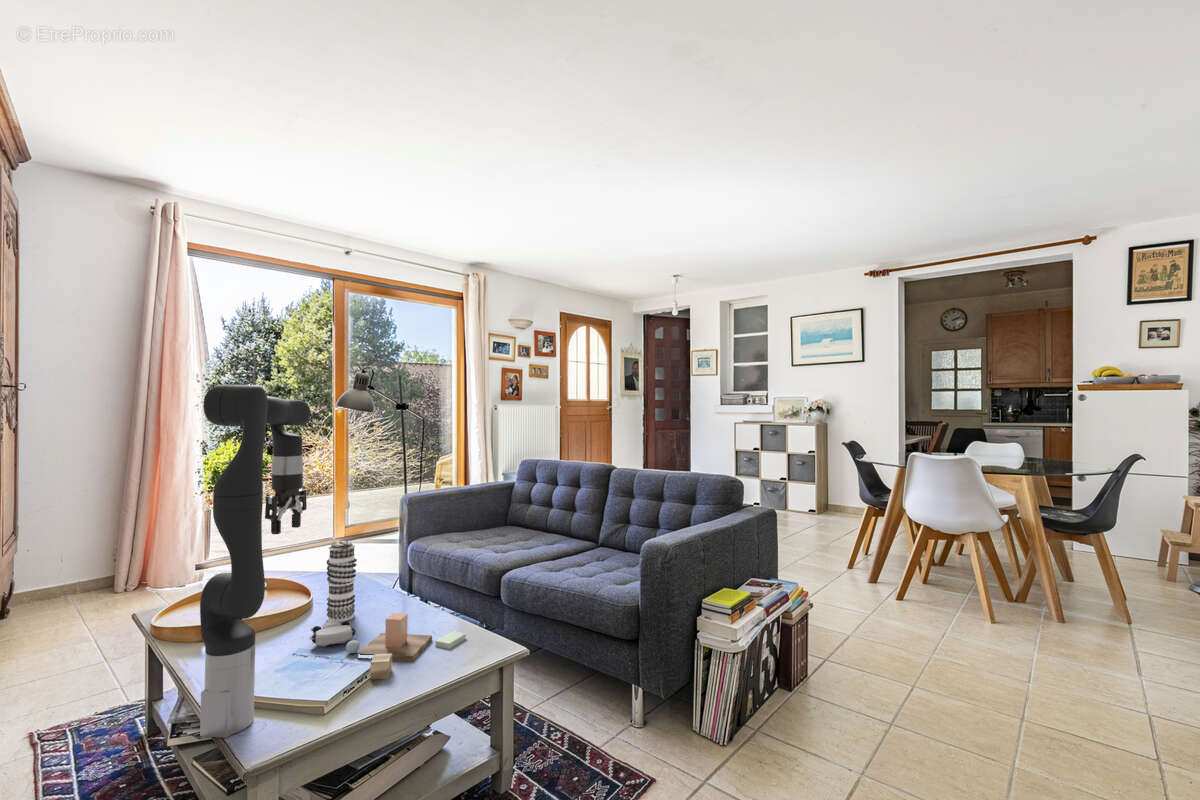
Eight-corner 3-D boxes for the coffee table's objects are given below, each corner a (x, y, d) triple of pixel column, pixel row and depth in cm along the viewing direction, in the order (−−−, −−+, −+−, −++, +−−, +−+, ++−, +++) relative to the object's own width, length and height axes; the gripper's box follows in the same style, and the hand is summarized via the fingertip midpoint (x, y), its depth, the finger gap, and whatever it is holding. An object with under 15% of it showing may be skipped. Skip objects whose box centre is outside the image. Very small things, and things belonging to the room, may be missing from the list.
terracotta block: (400, 647, 159) (400, 619, 159) (385, 646, 159) (385, 619, 160) (407, 641, 164) (407, 613, 164) (392, 640, 164) (392, 613, 164)
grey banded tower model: (345, 623, 180) (346, 546, 180) (319, 621, 181) (320, 545, 181) (361, 613, 189) (362, 539, 189) (336, 611, 190) (338, 538, 190)
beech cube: (388, 678, 144) (388, 661, 145) (370, 679, 144) (370, 662, 144) (391, 670, 149) (392, 653, 149) (374, 671, 148) (374, 654, 148)
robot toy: (308, 638, 171) (311, 653, 158) (308, 623, 171) (311, 637, 158) (352, 630, 177) (357, 644, 164) (352, 615, 177) (357, 629, 164)
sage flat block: (449, 650, 162) (449, 643, 162) (435, 647, 164) (435, 640, 164) (465, 640, 169) (465, 633, 169) (452, 637, 171) (452, 630, 171)
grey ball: (355, 656, 156) (355, 643, 157) (343, 655, 157) (343, 643, 157) (362, 650, 160) (362, 638, 160) (350, 650, 160) (350, 637, 160)
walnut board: (412, 661, 154) (412, 656, 154) (357, 658, 155) (357, 653, 155) (431, 640, 168) (432, 635, 168) (381, 637, 169) (381, 632, 169)
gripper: (283, 475, 146) (282, 537, 146) (315, 469, 160) (314, 525, 160) (256, 474, 147) (255, 536, 147) (291, 468, 161) (290, 524, 161)
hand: (286, 530), depth 153 cm, fingers open, 8 cm apart
